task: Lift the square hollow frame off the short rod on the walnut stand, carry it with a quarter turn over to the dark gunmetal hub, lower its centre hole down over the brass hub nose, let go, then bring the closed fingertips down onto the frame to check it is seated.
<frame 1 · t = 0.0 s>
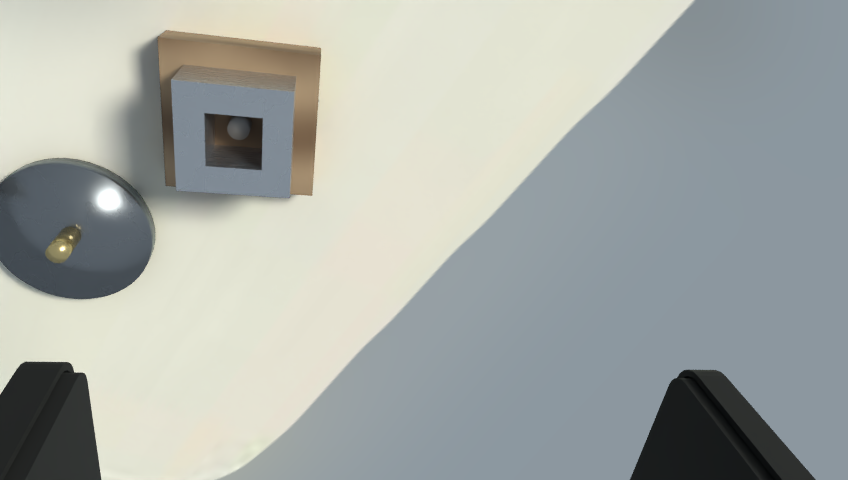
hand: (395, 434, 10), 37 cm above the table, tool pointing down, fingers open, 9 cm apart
stand: (244, 112, 43), on the table
hub: (76, 227, 46), on the table
square hollow frame: (240, 122, 41), point 2 cm above the table, touching stand
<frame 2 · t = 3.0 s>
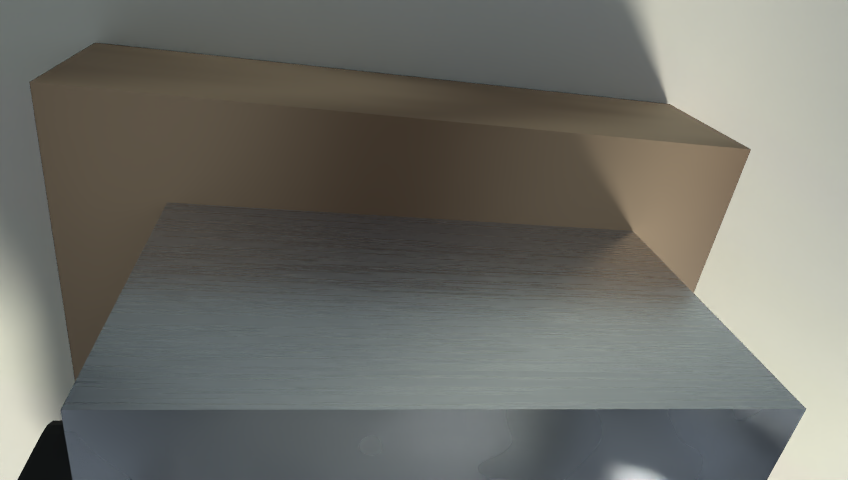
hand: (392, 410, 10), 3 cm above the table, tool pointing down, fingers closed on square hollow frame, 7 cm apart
stand: (378, 315, 13), on the table
square hollow frame: (390, 398, 11), point 2 cm above the table, touching gripper, stand
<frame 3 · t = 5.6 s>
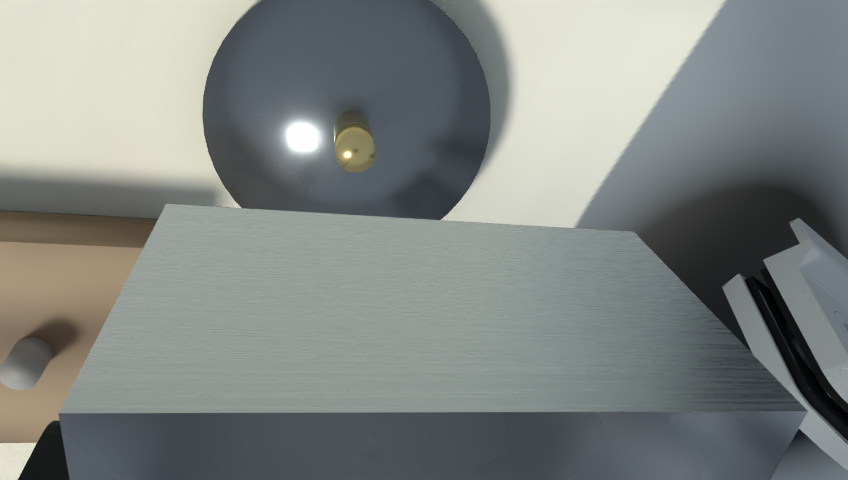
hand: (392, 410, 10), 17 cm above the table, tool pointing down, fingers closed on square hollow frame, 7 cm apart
stand: (56, 315, 27), on the table
hub: (350, 119, 25), on the table
hinge: (819, 332, 35), on the table
square hollow frame: (390, 399, 11), point 16 cm above the table, touching gripper
when the fingers open (2 cm above the table, at t = 8.2 s): square hollow frame stays where it is, resting on hub.
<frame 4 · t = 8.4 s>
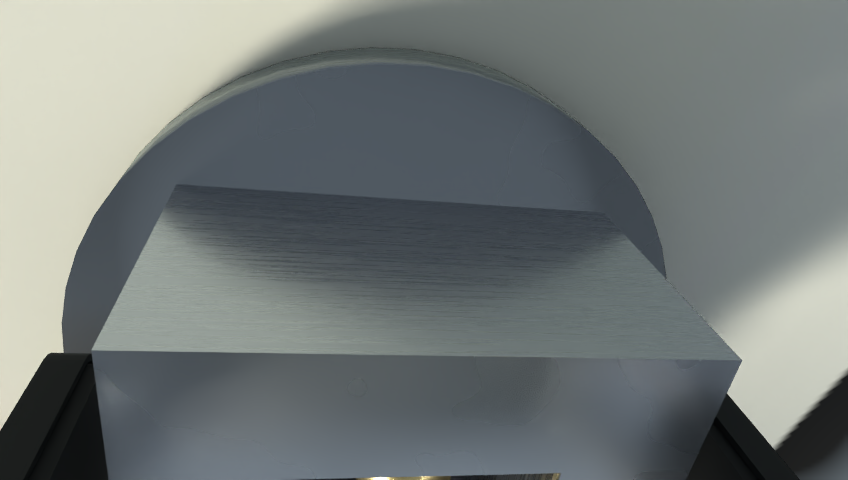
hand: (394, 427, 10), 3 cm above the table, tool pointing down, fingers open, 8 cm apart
hub: (380, 324, 13), on the table
square hollow frame: (381, 368, 12), point 1 cm above the table, touching hub
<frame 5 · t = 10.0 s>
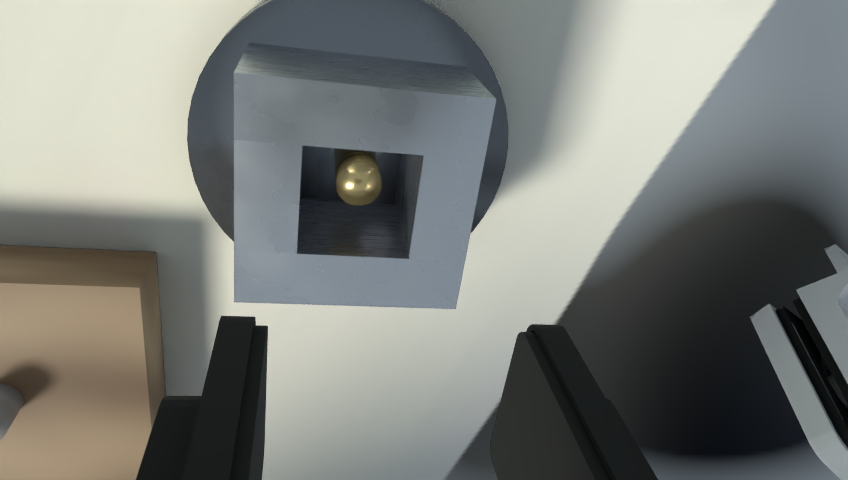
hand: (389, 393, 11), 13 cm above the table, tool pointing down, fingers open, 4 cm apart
stand: (30, 355, 25), on the table
hub: (352, 141, 22), on the table
square hollow frame: (352, 157, 21), point 1 cm above the table, touching hub
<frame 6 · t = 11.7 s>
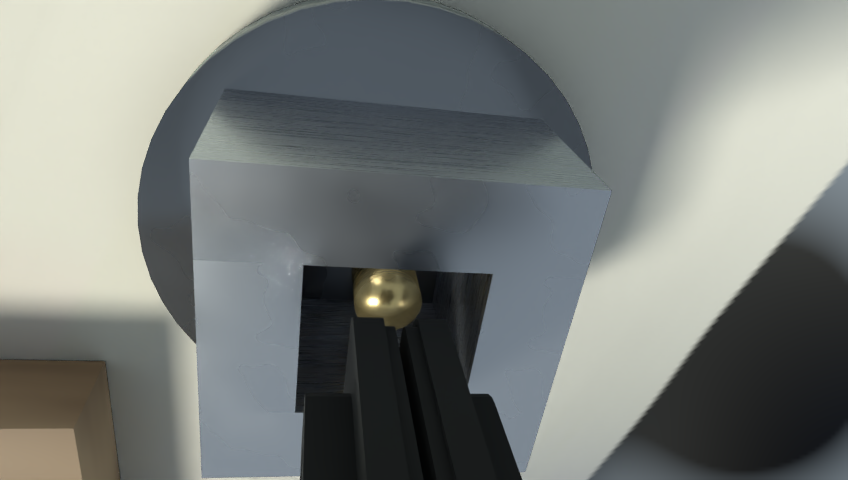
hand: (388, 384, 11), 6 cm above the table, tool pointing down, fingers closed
hub: (374, 216, 16), on the table
square hollow frame: (374, 243, 15), point 1 cm above the table, touching hub
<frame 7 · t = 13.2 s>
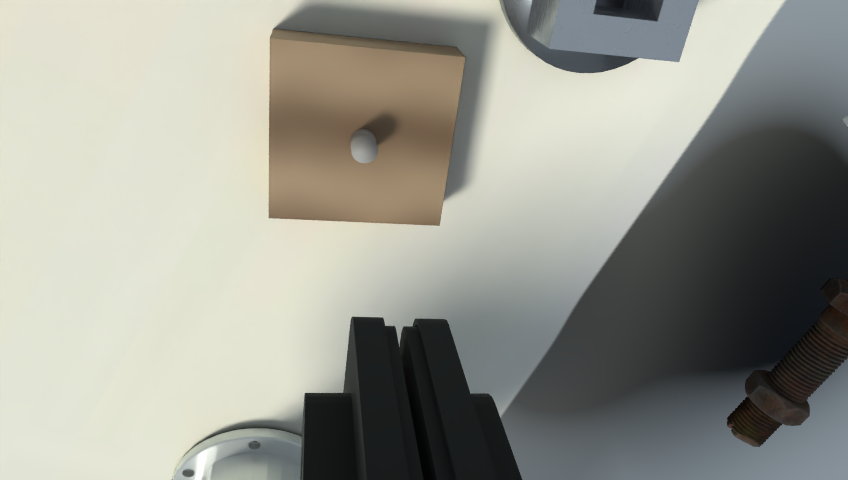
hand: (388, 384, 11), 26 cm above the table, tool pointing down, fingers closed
stand: (360, 126, 36), on the table
bolt: (780, 350, 51), on the table
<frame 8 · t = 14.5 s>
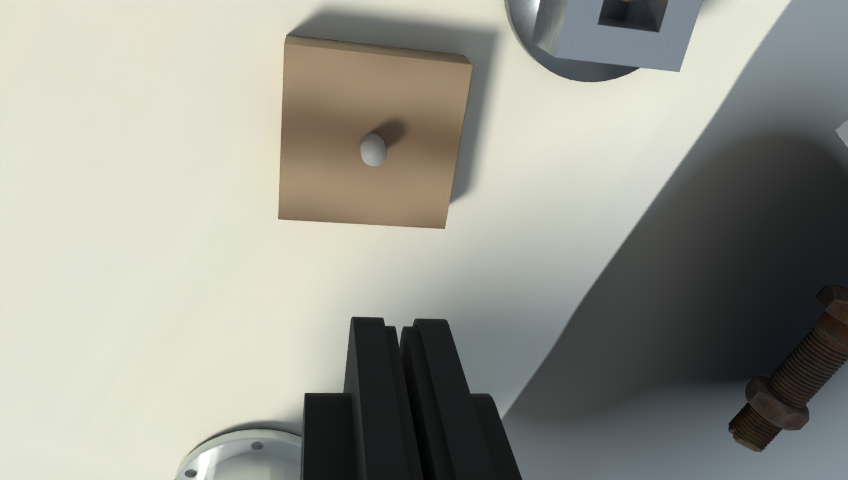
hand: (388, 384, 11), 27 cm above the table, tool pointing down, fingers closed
stand: (368, 130, 37), on the table
bolt: (778, 356, 52), on the table
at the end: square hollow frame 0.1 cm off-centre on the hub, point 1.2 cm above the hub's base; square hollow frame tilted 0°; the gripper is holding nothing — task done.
